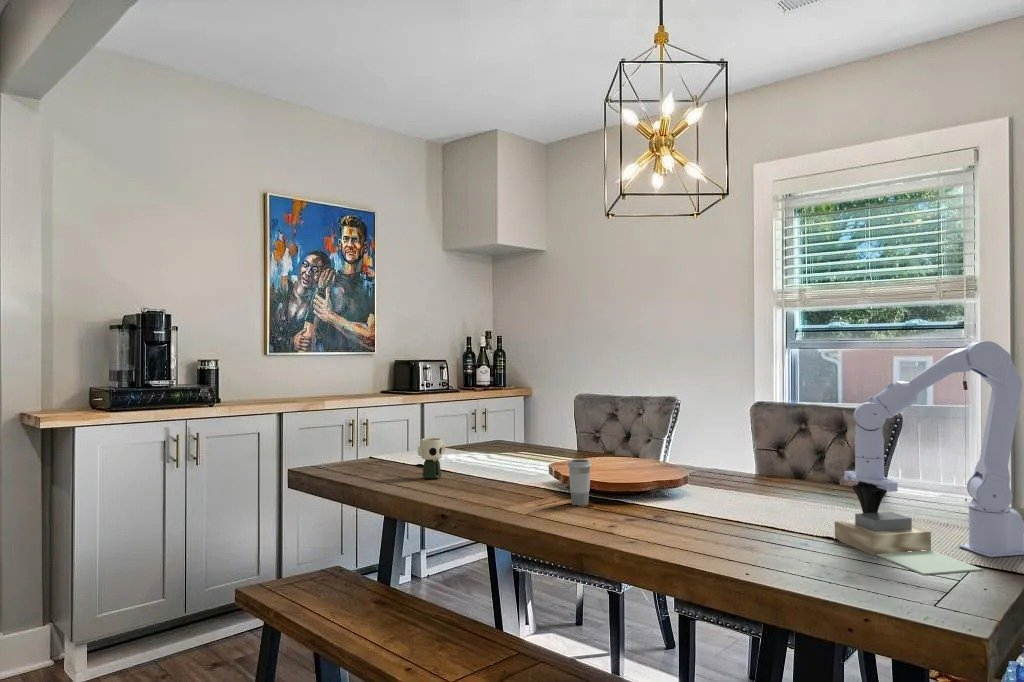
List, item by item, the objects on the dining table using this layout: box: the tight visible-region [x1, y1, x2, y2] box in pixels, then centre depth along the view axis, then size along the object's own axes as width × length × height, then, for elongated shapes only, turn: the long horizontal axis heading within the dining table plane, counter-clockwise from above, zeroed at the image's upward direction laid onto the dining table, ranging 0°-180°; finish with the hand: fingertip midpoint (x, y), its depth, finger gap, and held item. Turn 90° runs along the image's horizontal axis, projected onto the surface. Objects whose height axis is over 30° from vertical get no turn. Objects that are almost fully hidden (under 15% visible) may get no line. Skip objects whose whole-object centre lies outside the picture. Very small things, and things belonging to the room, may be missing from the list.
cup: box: [566, 458, 593, 507], centre depth 191 cm, size 7×7×12 cm
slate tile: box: [854, 511, 913, 532], centre depth 150 cm, size 9×6×2 cm, turn 101°
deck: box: [834, 519, 932, 556], centre depth 151 cm, size 14×12×4 cm
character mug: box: [417, 437, 446, 479], centre depth 230 cm, size 11×7×13 cm, turn 133°
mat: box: [875, 549, 983, 576], centre depth 138 cm, size 13×12×1 cm
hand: (870, 517), depth 154 cm, fingers closed
